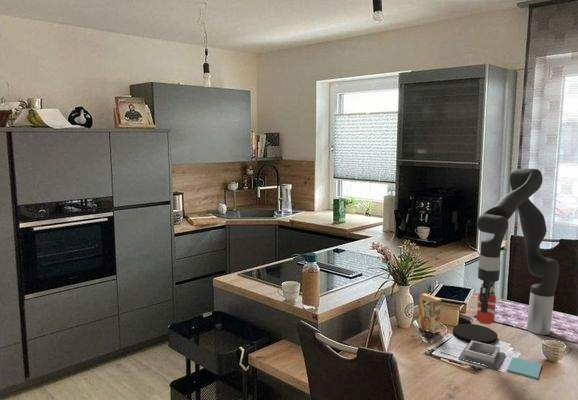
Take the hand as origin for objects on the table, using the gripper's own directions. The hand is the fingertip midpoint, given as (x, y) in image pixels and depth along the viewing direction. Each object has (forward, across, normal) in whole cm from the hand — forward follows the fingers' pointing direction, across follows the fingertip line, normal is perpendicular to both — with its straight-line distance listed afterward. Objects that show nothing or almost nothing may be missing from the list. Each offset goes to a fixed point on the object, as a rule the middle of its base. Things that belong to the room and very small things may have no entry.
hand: (486, 309), depth 180 cm
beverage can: (+5, 0, 0) cm, 5 cm away
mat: (+19, 0, +15) cm, 24 cm away
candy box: (+20, -13, -25) cm, 34 cm away
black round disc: (+20, -19, -7) cm, 28 cm away
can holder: (+19, 0, 0) cm, 19 cm away
